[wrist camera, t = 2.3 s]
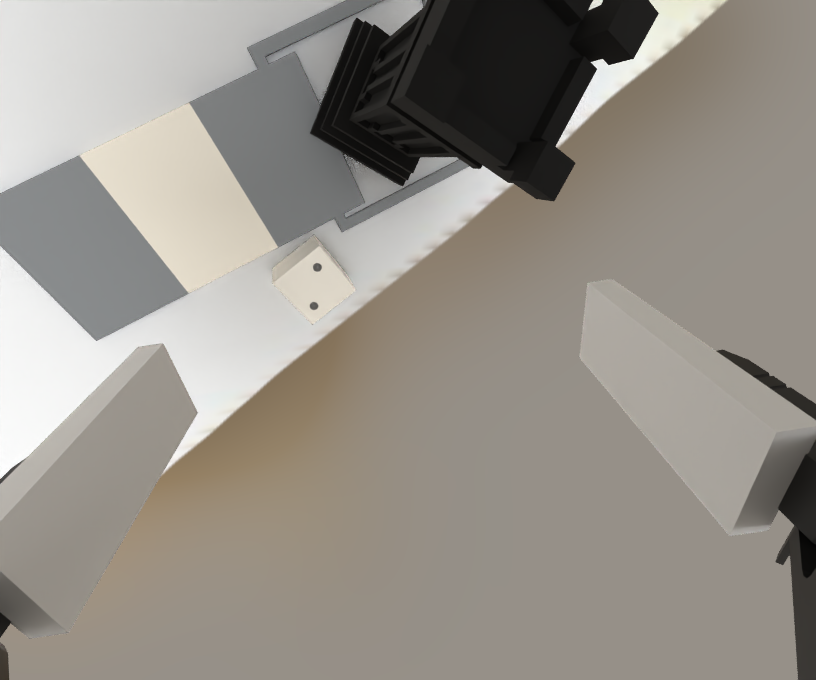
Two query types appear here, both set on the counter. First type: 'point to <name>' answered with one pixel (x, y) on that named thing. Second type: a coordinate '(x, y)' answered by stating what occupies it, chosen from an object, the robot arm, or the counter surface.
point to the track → (179, 200)
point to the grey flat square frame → (351, 6)
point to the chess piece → (476, 85)
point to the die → (312, 280)
